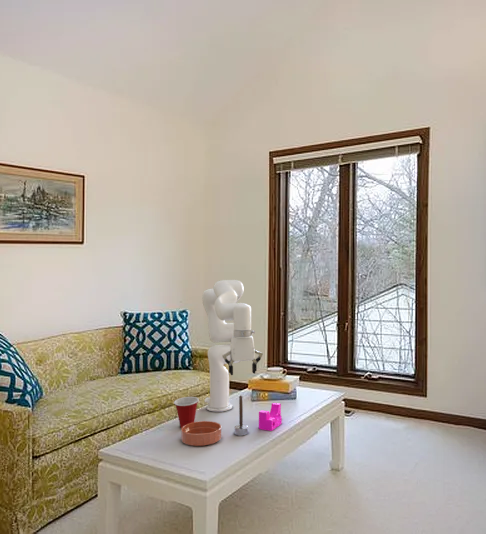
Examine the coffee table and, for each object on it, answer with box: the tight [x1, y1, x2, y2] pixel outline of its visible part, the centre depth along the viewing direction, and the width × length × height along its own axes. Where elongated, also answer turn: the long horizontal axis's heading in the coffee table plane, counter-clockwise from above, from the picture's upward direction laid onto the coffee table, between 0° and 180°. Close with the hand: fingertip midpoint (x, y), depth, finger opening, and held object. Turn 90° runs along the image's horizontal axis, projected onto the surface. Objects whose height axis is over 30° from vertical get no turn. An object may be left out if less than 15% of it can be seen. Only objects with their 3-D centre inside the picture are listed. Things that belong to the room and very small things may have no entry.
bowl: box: [180, 420, 222, 447], centre depth 201 cm, size 16×16×5 cm
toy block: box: [258, 402, 283, 432], centre depth 220 cm, size 15×6×8 cm, turn 156°
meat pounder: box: [233, 395, 249, 436], centre depth 209 cm, size 6×6×16 cm
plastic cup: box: [173, 396, 200, 429], centre depth 217 cm, size 11×11×12 cm
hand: (242, 373), depth 209 cm, fingers open, 9 cm apart
